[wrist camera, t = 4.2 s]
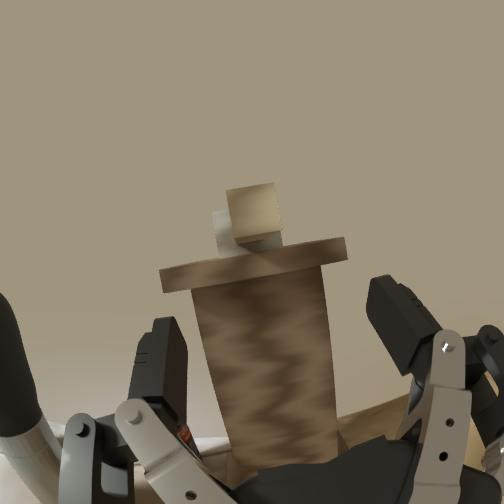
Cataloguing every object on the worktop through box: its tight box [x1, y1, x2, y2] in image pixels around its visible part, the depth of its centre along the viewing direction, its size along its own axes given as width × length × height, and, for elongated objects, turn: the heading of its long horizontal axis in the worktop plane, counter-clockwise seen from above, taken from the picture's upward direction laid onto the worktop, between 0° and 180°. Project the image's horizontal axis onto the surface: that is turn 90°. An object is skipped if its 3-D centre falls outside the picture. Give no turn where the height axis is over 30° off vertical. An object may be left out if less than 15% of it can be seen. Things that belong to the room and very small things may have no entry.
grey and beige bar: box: [212, 183, 283, 259], centre depth 23 cm, size 6×19×4 cm, turn 3°
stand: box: [159, 237, 349, 489], centre depth 28 cm, size 18×12×32 cm, turn 93°
